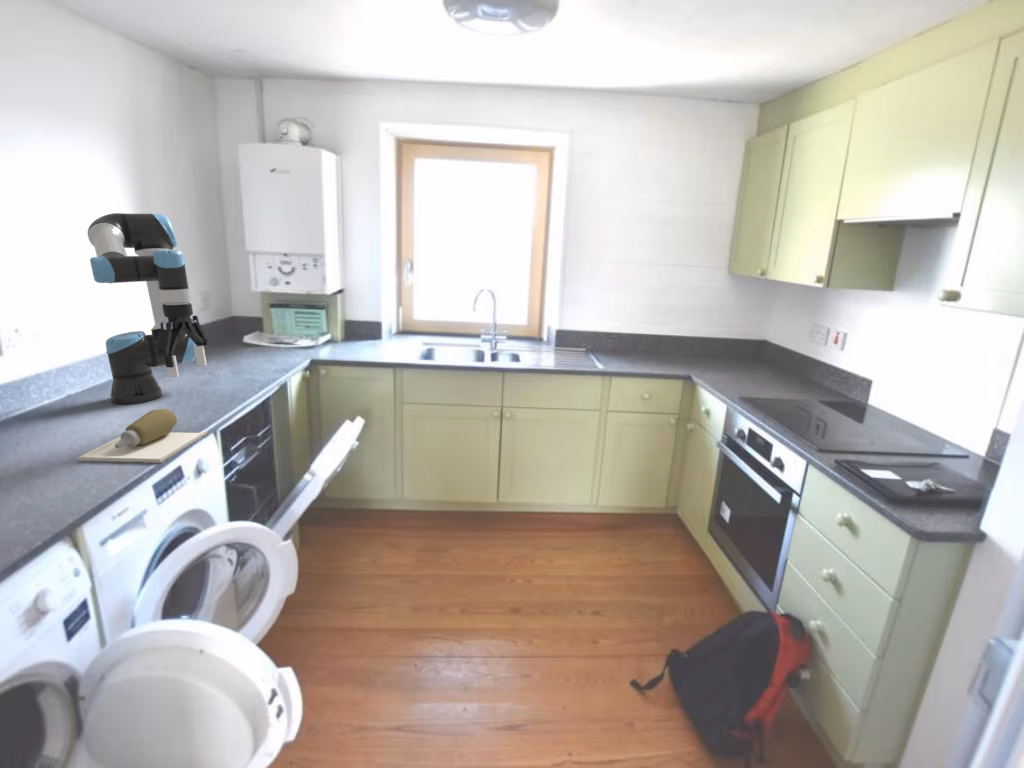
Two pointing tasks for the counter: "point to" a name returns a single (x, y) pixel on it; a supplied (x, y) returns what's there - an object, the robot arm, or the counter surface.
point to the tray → (144, 449)
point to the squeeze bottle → (148, 428)
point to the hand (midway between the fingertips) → (188, 371)
